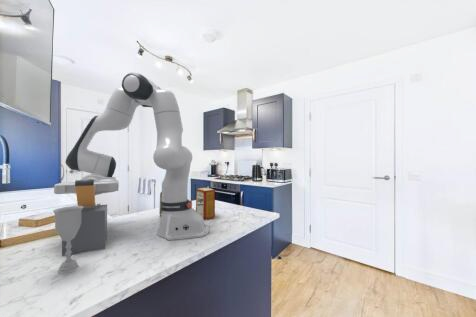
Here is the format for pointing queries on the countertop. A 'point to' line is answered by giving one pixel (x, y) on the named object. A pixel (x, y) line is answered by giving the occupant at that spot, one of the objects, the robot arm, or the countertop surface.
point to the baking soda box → (205, 202)
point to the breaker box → (90, 231)
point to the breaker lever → (85, 193)
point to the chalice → (68, 233)
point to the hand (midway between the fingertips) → (85, 189)
